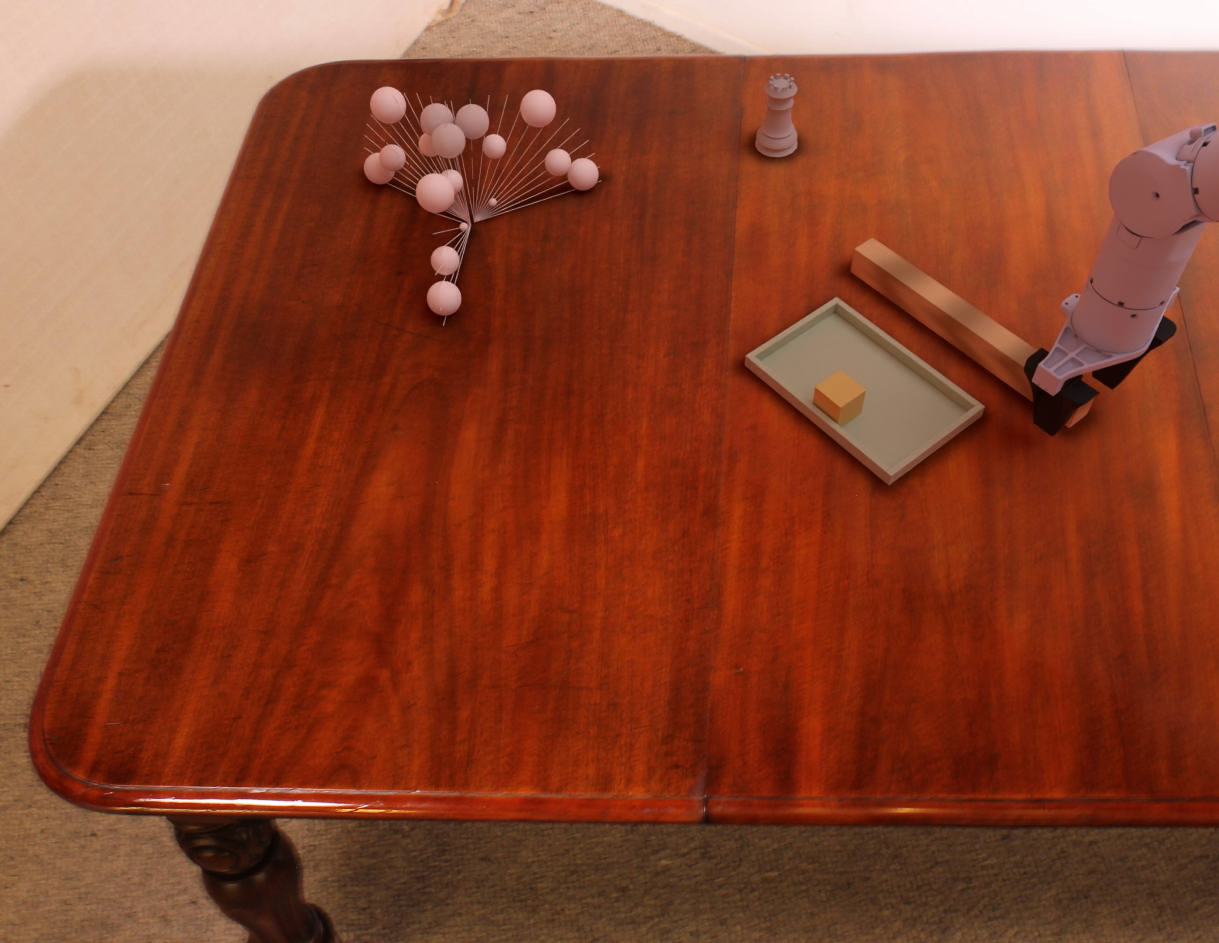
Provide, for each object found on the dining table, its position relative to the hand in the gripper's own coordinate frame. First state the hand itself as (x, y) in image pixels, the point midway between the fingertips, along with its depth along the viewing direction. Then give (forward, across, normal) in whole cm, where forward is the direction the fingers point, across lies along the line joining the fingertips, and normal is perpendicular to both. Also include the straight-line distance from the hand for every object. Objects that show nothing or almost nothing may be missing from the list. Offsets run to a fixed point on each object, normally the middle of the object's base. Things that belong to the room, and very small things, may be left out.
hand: (1075, 404), depth 89 cm
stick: (+2, 0, -12) cm, 12 cm away
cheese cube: (+1, +14, -13) cm, 19 cm away
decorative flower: (+2, +27, -52) cm, 58 cm away
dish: (+2, +11, -13) cm, 17 cm away
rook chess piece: (+2, -7, -43) cm, 43 cm away
